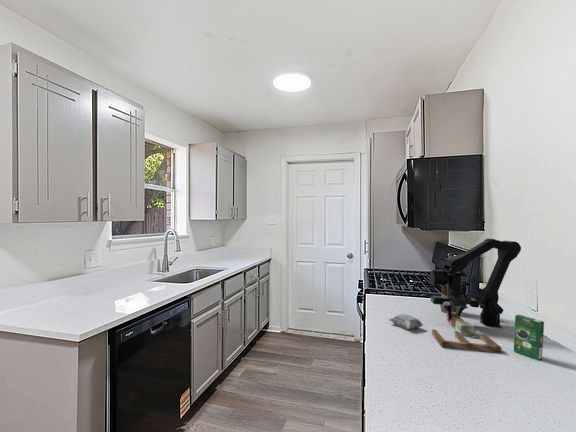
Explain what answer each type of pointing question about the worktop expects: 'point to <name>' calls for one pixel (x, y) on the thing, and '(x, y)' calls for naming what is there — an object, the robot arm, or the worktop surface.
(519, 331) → the coffee box
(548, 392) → the worktop surface
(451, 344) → the lane rack
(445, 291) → the bottle
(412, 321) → the packaged food
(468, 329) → the block
